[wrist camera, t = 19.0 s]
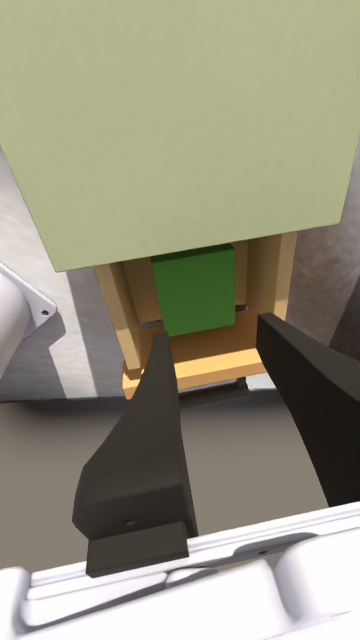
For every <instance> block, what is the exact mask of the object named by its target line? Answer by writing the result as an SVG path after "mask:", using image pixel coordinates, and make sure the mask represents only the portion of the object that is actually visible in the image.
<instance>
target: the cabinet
mask: <svg viewBox="0 0 360 640" xmlns="http://www.w3.org/2000/svg"><path fill="white" fill-rule="evenodd" d="M359 134H360V0H0V146H1V148H2V151H3V153H4V155H5V158H6V160H7V162H8V164H9V167H10V169H11V171H12V174H13V176H14V178H15V180H16V183H17V185H18V187H19V190H20V192H21V194H22V196H23V199H24V201H25V203H26V206H27V208H28V210H29V212H30V215H31V217H32V219H33V222H34V224H35V226H36V228H37V231H38V233H39V235H40V238H41V240H42V242H43V244H44V247H45V249H46V251H47V254H48V256H49V258H50V260H51V263H52V265H53V267H54V270H55V272H56V273H57V272H63V271H69V270H75V269H80V268H86V267H92V266H98V265H104V264H109V263H115V262H121V261H127V260H132V259H138V258H144V257H150V256H155V255H161V254H167V253H173V252H179V251H184V250H190V249H196V248H202V247H207V246H213V245H219V244H225V243H230V242H236V241H242V240H248V239H254V238H259V237H265V236H271V235H277V234H282V233H288V232H294V231H300V230H306V229H311V228H317V227H323V226H329V225H334V224H339V222H340V218H341V214H342V209H343V205H344V200H345V196H346V191H347V187H348V183H349V178H350V174H351V169H352V165H353V161H354V156H355V152H356V147H357V143H358V138H359Z"/></svg>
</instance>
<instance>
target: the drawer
mask: <svg viewBox="0 0 360 640" xmlns="http://www.w3.org/2000/svg"><path fill="white" fill-rule="evenodd" d="M296 237H297V231H294V232H288V233H282V234H277V235H271V236H265V237H259V238H254V239H248V240H242V241H236V242H230V243H231V245H232V246H233V247H234V248H235V306H237V305H243V304H246V305H247V306H248V308H249V309H248V310H242V311H237V312H235V324H234V325H229V326H224V327H218V328H213V329H208V330H202V331H197V332H191V333H186V334H181V335H175V336H170V337H169V340H170V345H171V350H172V355H173V361H174V366H175V372H176V377H177V385H178V390H179V389H184V388H189V387H194V386H200V385H205V384H210V383H215V382H220V381H225V380H230V379H235V378H237V382H233V383H228V384H223V385H218V386H213V387H207V388H202V389H197V390H192V391H187V392H182V393H178V398H179V411H181V410H185V409H191V408H196V407H201V406H206V405H211V404H216V403H221V402H225V401H231V400H236V399H241V398H246V397H249V389H248V386H247V383H246V376H251V375H256V374H261V373H266V372H267V371H266V369H265V367H264V366H263V363H262V361H261V359H260V356H259V354H258V351H257V349H256V334H257V318H258V314H263V313H268V312H271V313H273V314H274V315H276V316H278V317H279V318H281V319H282V320H284V321H285V317H286V310H287V302H288V295H289V288H290V281H291V273H292V266H293V259H294V251H295V244H296ZM93 268H94V271H95V274H96V277H97V280H98V283H99V286H100V289H101V292H102V295H103V298H104V301H105V303H106V306H107V309H108V312H109V315H110V318H111V321H112V324H113V327H114V330H115V333H116V336H117V339H118V341H119V344H120V347H121V350H122V353H123V356H124V361H123V385H122V389H123V391H124V394H125V397H126V399H131V398H132V396H133V394H134V392H135V390H136V388H137V386H138V384H139V381H140V379H141V376H142V374H143V371H144V369H145V366H146V363H147V360H148V357H149V353H150V349H151V345H152V340H153V335H154V334H155V333H160V332H165V331H164V326H163V325H161V326H155V327H150V328H145V329H139V323H145V322H150V321H156V320H161V319H162V316H161V311H160V306H159V301H158V296H157V291H156V286H155V281H154V276H153V271H152V266H151V260H150V257H144V258H138V259H132V260H127V261H121V262H115V263H109V264H104V265H98V266H93Z"/></svg>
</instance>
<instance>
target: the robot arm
mask: <svg viewBox="0 0 360 640" xmlns="http://www.w3.org/2000/svg"><path fill="white" fill-rule="evenodd" d="M57 309H58V307H57V305H56V304H55V303H54V302H52V301H51V300H50V299H48V298H47V297H46V296H44V295H43V294H42V293H40V292H39V291H38V290H36V289H35V288H34V287H32V286H31V285H30V284H28V283H27V282H26V281H24V280H23V279H22V278H20V277H19V276H18V275H16V274H15V273H14V272H12V271H11V270H10V269H8V268H7V267H6V266H4V265H3V264H2V263H0V379H1V377H2V375H3V374H4V372H5V370H6V368H7V366H8V364H9V362H10V360H11V358H12V356H13V355H14V353H15V351H16V349H17V347H18V345H19V343H21V342H22V341H23V340H24V339H25V338H27V337H28V336H29V335H30V334H31V333H33V332H34V331H35V330H36V329H37V328H39V327H40V326H41V325H42V324H43V323H44V322H46V321H47V320H48V319H49V318H50V317H52V316H53V315H54V314H55V313H56V312H57ZM43 311H48V312H49V313H44V312H43ZM256 349H257V351H258V354H259V356H260V359H261V361H262V363H263V366H264V367H265V369H266V371H267V373H268V374H269V376H270V378H271V380H272V381H273V383H274V385H275V386H276V388H277V390H278V391H279V393H280V395H281V396H282V398H283V400H284V402H285V403H286V405H287V407H288V409H289V411H290V413H291V415H292V417H293V419H294V421H295V424H296V426H297V428H298V430H299V432H300V434H301V437H302V439H303V442H304V444H305V446H306V449H307V451H308V453H309V456H310V458H311V461H312V463H313V466H314V468H315V471H316V473H317V476H318V478H319V481H320V484H321V486H322V489H323V492H324V494H325V497H326V500H327V503H328V505H329V508H326V509H322V510H317V511H312V512H308V513H303V514H299V515H294V516H290V517H286V518H281V519H276V520H271V521H267V522H263V523H258V524H253V525H249V526H244V527H240V528H235V529H230V530H226V531H221V532H217V533H212V534H208V535H203V536H198V530H197V524H196V518H195V512H194V506H193V500H192V494H191V489H190V483H189V477H188V471H187V465H186V459H185V453H184V447H183V440H182V434H181V426H180V413H179V398H178V385H177V377H176V372H175V366H174V361H173V355H172V350H171V345H170V340H169V335H168V331H166V332H160V333H155V334H154V335H153V340H152V345H151V349H150V353H149V357H148V360H147V363H146V366H145V369H144V371H143V374H142V376H141V379H140V381H139V384H138V386H137V388H136V390H135V392H134V394H133V396H132V398H131V400H130V402H129V404H128V405H127V407H126V409H125V411H124V412H123V414H122V416H121V417H120V419H119V421H118V422H117V424H116V425H115V426H114V428H113V429H112V431H111V432H110V434H109V435H108V436H107V438H106V439H105V441H104V442H103V443H102V445H101V446H100V447H99V448H98V450H97V451H96V452H95V454H94V455H93V456H92V457H91V458H90V459H89V461H88V462H87V463H86V464H85V465H84V467H83V470H82V473H81V476H80V480H79V483H78V487H77V490H76V495H75V501H74V509H73V516H72V522H73V524H74V525H75V527H76V528H77V529H79V531H80V532H81V533H83V535H84V536H85V537H87V538H88V539H89V544H88V554H87V561H84V562H80V563H75V564H71V565H66V566H62V567H57V568H53V569H48V570H43V571H39V572H35V573H31V572H30V571H29V570H28V569H26V568H24V567H9V568H4V569H0V640H360V361H357V360H355V359H353V358H350V357H348V356H346V355H344V354H342V353H339V352H337V351H335V350H333V349H331V348H329V347H327V346H326V345H324V344H322V343H320V342H318V341H316V340H315V339H313V338H311V337H309V336H308V335H306V334H304V333H303V332H301V331H299V330H298V329H296V328H295V327H293V326H292V325H290V324H288V323H287V322H285V321H284V320H282V319H281V318H279V317H278V316H276V315H274V314H273V313H271V312H268V313H263V314H258V318H257V334H256ZM280 552H281V553H280ZM275 553H278V554H275ZM271 554H275V555H271ZM267 555H271V556H268V557H265V558H262V559H259V560H256V561H253V562H249V563H246V564H243V565H240V566H237V567H234V568H231V569H228V570H225V571H221V572H218V571H217V569H216V568H214V567H218V566H222V565H226V564H231V563H235V562H239V561H244V560H248V559H253V558H258V557H262V556H267Z"/></svg>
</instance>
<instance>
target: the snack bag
mask: <svg viewBox="0 0 360 640" xmlns="http://www.w3.org/2000/svg"><path fill="white" fill-rule="evenodd" d="M150 260H151V266H152V271H153V276H154V281H155V286H156V291H157V296H158V301H159V306H160V311H161V316H162V321H163V326H164V331H165V332H166V331H168V335H169V337H170V336H175V335H181V334H186V333H191V332H197V331H202V330H208V329H213V328H218V327H224V326H229V325H234V324H235V248H234V247H233V246H232V245H231V243H225V244H219V245H213V246H207V247H202V248H196V249H190V250H184V251H179V252H173V253H167V254H161V255H155V256H150Z"/></svg>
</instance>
